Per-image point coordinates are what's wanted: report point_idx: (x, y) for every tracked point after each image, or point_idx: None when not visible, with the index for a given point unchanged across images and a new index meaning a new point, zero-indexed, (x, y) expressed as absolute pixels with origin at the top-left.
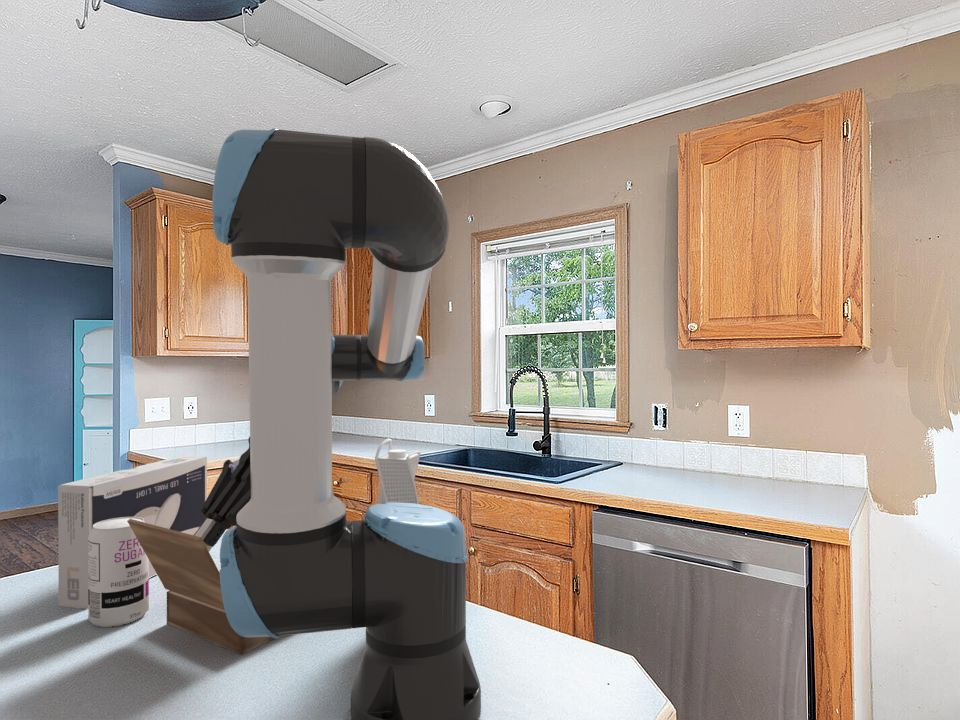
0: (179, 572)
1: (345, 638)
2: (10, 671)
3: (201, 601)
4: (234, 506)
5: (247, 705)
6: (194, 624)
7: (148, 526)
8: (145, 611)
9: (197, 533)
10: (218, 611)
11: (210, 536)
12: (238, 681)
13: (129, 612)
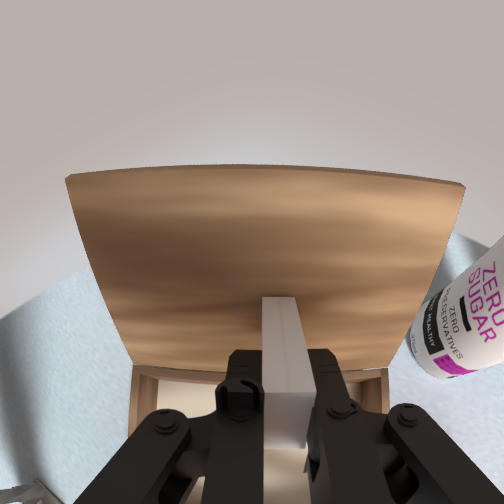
0: None
1: (67, 466)
2: None
3: None
4: (159, 469)
5: (67, 287)
6: None
7: (351, 169)
8: (419, 363)
9: (295, 343)
10: (203, 372)
11: (234, 364)
12: (105, 318)
13: (416, 332)
